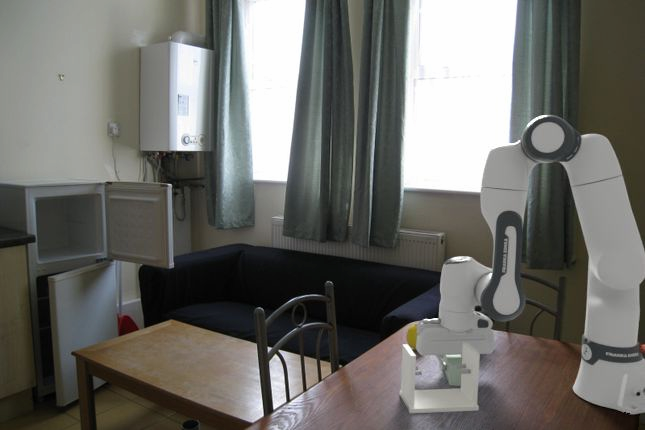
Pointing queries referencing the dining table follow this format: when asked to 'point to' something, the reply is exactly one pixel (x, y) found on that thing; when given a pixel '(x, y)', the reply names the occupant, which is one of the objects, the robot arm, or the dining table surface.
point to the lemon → (412, 336)
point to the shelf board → (453, 369)
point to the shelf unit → (441, 397)
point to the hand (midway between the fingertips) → (453, 369)
